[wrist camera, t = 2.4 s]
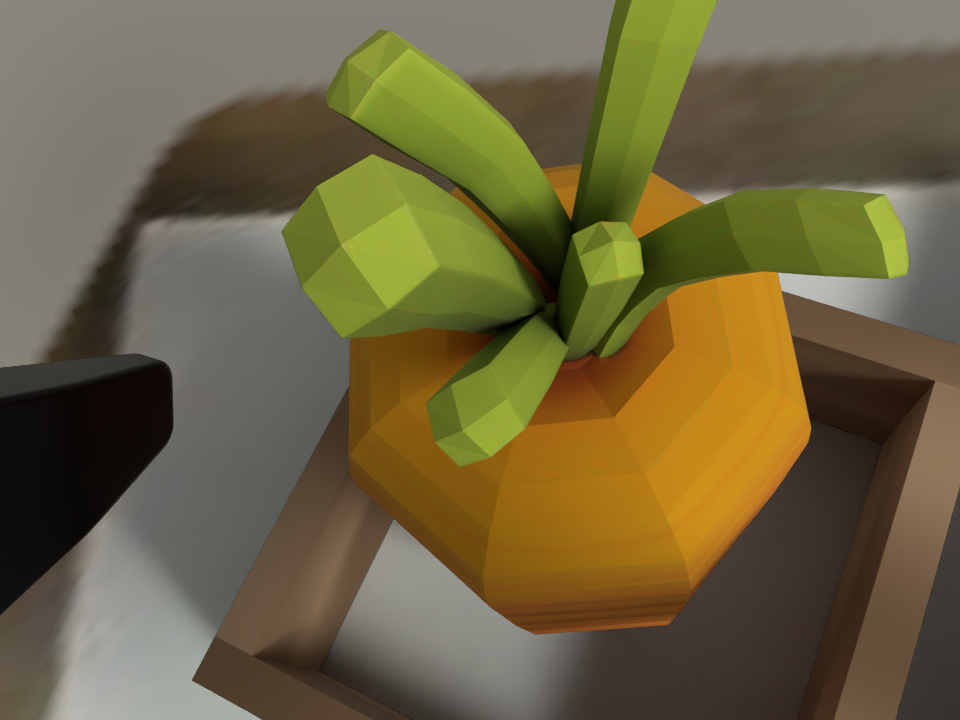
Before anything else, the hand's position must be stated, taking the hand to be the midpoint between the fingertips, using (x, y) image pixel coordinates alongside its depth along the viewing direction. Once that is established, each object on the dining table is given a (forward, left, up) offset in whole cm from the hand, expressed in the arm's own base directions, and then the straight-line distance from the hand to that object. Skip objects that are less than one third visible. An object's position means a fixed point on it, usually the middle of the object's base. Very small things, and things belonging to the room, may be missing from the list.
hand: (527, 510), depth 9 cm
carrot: (+1, 0, -10) cm, 10 cm away
